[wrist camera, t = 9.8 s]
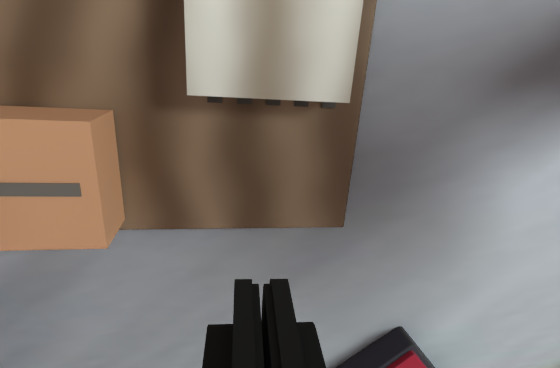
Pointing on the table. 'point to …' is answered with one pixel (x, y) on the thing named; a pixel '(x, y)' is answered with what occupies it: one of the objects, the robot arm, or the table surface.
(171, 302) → the table surface
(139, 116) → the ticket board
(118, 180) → the tan box with slot
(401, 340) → the red black flat box
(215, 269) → the table surface
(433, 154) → the table surface
